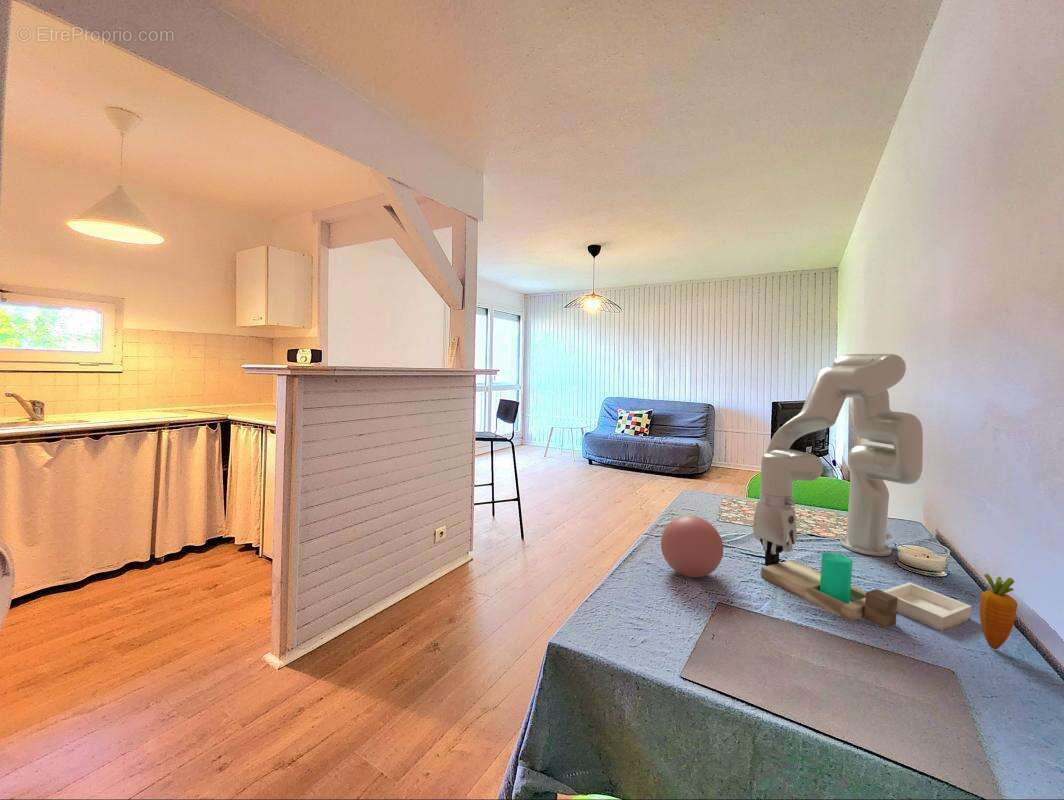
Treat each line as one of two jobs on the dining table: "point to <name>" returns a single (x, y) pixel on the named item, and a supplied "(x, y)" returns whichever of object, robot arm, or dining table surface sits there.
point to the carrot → (997, 611)
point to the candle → (836, 576)
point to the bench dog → (880, 608)
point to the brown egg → (692, 546)
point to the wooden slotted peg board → (814, 588)
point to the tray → (929, 606)
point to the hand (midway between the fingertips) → (771, 566)
